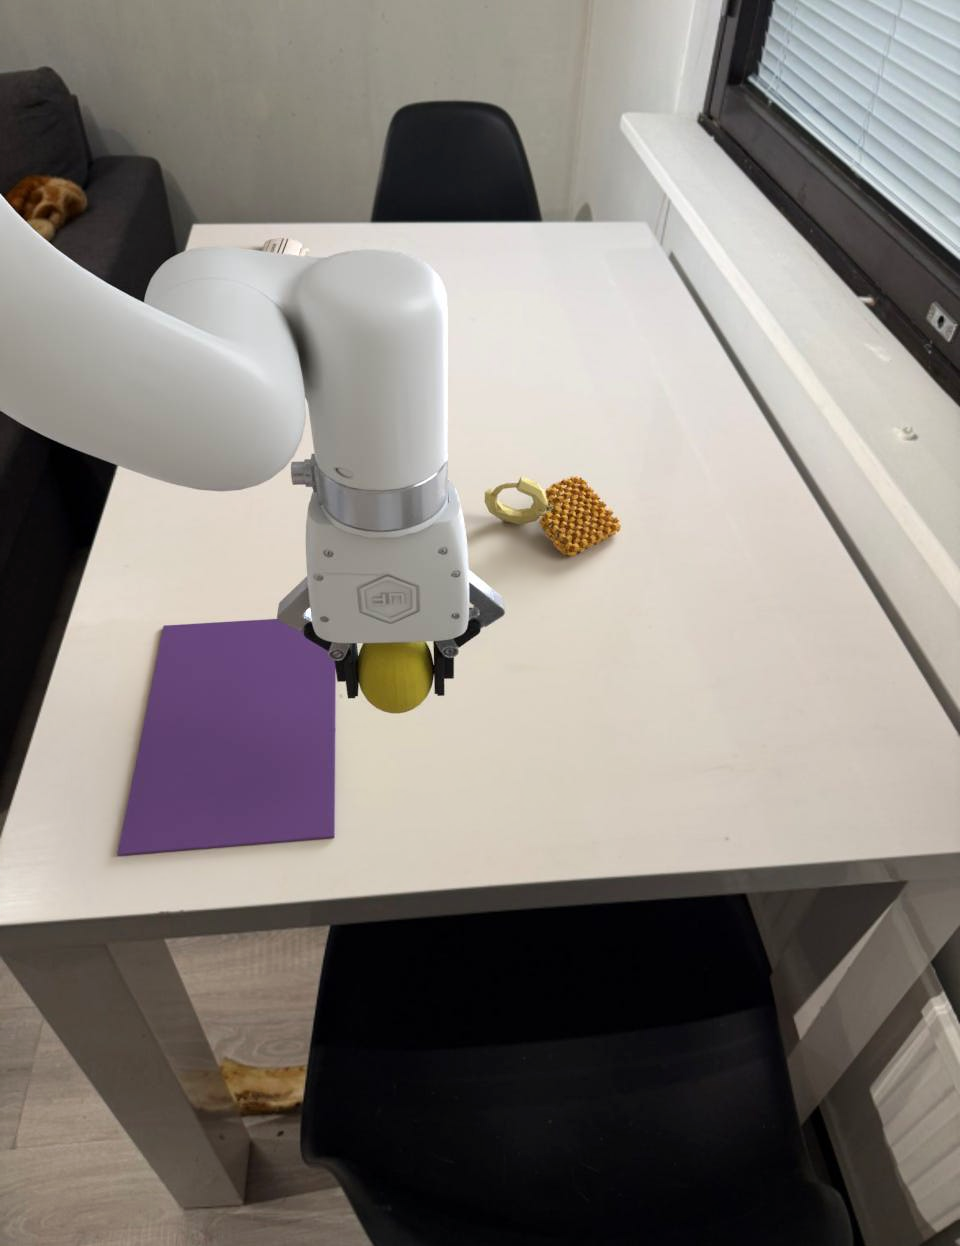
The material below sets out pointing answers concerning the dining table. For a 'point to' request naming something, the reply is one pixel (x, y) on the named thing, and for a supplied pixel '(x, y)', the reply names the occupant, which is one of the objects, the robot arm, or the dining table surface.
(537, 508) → the ornament
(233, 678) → the cloth
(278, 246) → the newspaper
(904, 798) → the dining table surface
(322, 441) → the robot arm
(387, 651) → the lemon
